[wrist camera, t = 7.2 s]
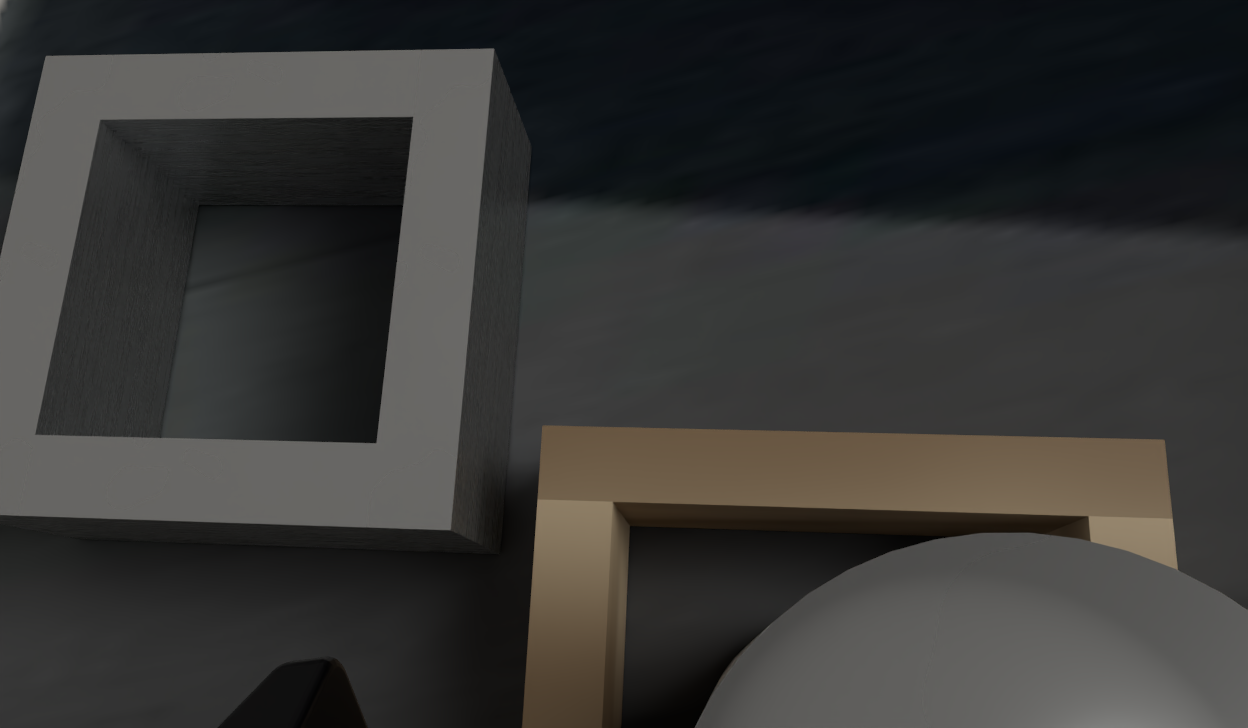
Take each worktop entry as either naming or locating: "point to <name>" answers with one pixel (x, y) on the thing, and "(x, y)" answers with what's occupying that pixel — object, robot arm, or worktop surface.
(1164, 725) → the tin canister
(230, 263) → the worktop surface
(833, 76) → the worktop surface
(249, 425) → the worktop surface
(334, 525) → the socket block
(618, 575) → the wooden box
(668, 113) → the worktop surface
